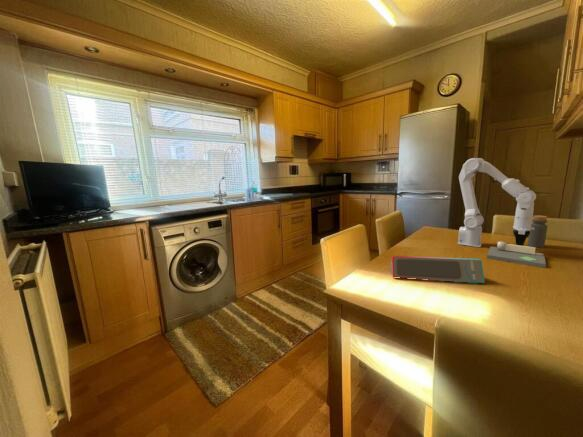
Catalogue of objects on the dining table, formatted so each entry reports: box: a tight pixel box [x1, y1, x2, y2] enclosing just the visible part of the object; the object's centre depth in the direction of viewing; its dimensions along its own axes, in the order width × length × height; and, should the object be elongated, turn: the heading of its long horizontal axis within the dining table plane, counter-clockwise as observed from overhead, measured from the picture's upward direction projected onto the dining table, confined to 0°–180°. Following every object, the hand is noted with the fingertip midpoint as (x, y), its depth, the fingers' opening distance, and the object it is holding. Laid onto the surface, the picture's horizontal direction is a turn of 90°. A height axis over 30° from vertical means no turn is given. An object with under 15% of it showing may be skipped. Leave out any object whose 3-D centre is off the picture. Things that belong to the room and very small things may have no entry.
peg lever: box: [496, 240, 543, 255], centre depth 107 cm, size 15×3×3 cm, turn 46°
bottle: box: [527, 214, 548, 249], centre depth 118 cm, size 6×6×15 cm
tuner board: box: [486, 246, 547, 269], centre depth 106 cm, size 18×15×2 cm
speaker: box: [389, 255, 486, 284], centre depth 91 cm, size 9×10×30 cm
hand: (519, 246), depth 111 cm, fingers closed
